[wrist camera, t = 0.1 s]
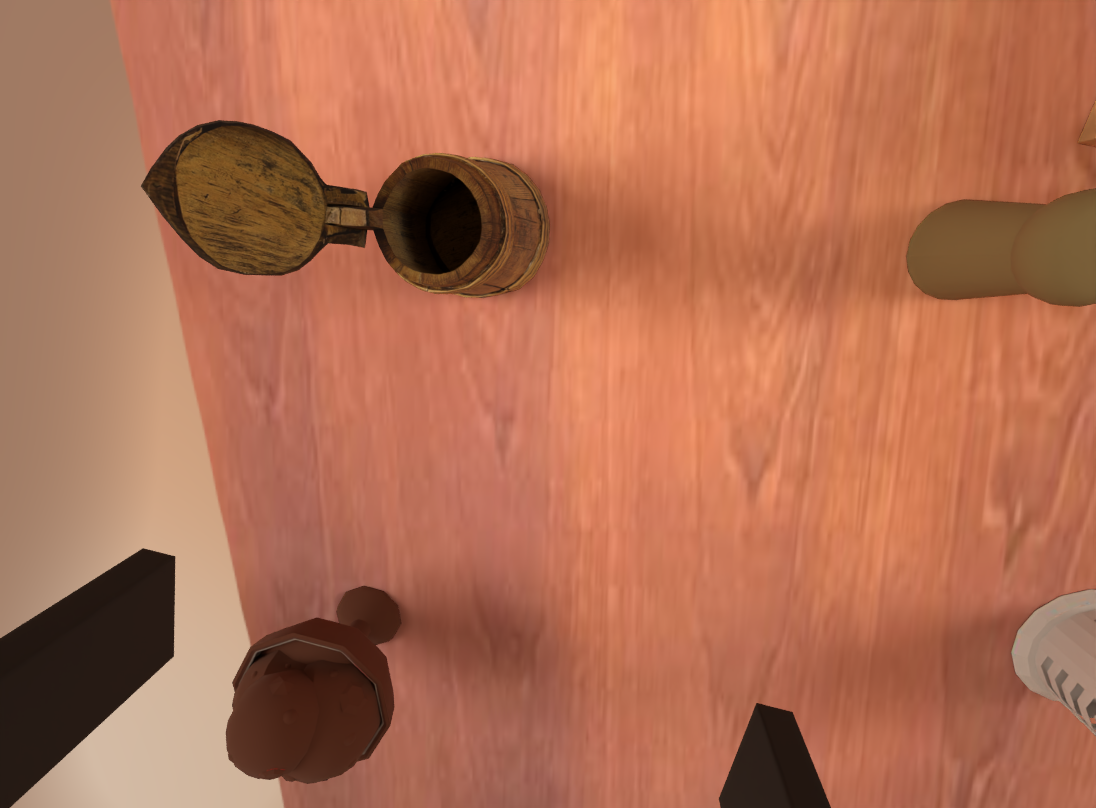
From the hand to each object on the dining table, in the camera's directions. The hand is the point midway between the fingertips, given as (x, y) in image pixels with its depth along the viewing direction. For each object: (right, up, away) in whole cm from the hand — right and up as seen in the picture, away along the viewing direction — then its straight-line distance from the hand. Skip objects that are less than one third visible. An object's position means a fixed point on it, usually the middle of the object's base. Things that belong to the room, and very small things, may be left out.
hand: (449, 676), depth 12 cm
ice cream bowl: (-13, -12, +34) cm, 38 cm away
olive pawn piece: (+28, +16, +22) cm, 39 cm away
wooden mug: (-4, +18, +25) cm, 31 cm away
